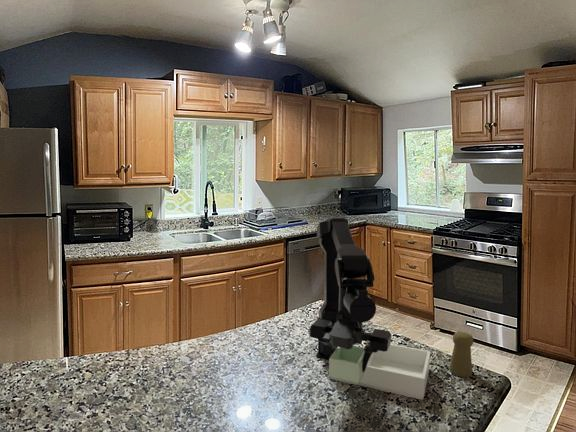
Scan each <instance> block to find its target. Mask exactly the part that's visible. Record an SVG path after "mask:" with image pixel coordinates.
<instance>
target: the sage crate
mask: <svg viewBox="0 0 576 432" xmlns="http://www.w3.org/2000/svg"><path fill="white" fill-rule="evenodd" d="M364 349H365V347H363V346H358V345H353V347H352V348H351V349H345V348H342V347H337V348H336V350H335V351H334V353H333V354H332V355H331V357H330V358H329V359H328V361H329V362H328V379H329V380H330V379H331V380H334V381H337V382H343V383H347V384H352V385H356V386H359V385H358V384H359V382H360V380H361V378H362V376H363V374H364V372H365V371H364V372H362V366H363V359H364V353H365V352H364ZM366 368H367V366H366ZM365 370H366V369H365Z"/></svg>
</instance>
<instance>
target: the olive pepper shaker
mask: <svg viewBox="0 0 576 432" xmlns="http://www.w3.org/2000/svg"><path fill="white" fill-rule="evenodd" d="M452 342H453V344H454V345H453V349H452V354H451V357H450V358H451V359H450V362H449V368H448V371H449V372H450V373H451V374H453V375H454V376H457V377H461V378H468V377H472V376H473V364H472V349H471V348H472V346H473V345H474V337H473V336H472V335H471V334H470V333H468V332H465V331H457V332H455V333H454V334H453V335H452Z"/></svg>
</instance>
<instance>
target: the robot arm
mask: <svg viewBox="0 0 576 432" xmlns="http://www.w3.org/2000/svg"><path fill="white" fill-rule="evenodd" d="M316 238H317V239H318V244H319V246H320V247H321V250H322V251H323V254H324V255H323V258H324V259H323V260H324V261H323V263H324V265H323V266H324V268H323V271H324V272H323V273H324V274H323V275H324V276H323V277H324V278H323V282H324V283H323V285H324V287H323V289H324V290H323V294H324V295H323V298H324V300H323V303H322V305H321V307H320V308H319V310H318V317H316V320H315V321H314V322H313V323H312V324H311V325H310V327H309V333H308V336H309V337H310V338H313V339H317V341H318V344H317V347H318V348H317V353H316V354H315V356H316V357H317V358H321V359H322V358H323V359H326V360H329V358H330V357H331V355H332V354H333V353H334V351H335V350H336V348H337V347H342V348H345V349H351V348H352V347H353V346H357V344H358V345H361V344H362V342H363V341H364V342H366V345H365V347H364V348H365V349H364V352H365V353H364V359H363V366H362V372H364V371H365V369H366V366H367V364H368V361H369V359H370V356H371V354H372V353H373V352H374V353H376V352H378V350H379V351H384V352H385V351H387V350H388V348H389V346H390V344H392V334H391V332H390V331H389V330H383V329H378V328H374V330H372V332H367V331H366V332H365V331H364V330H363V328H364V324H363V323H367V322H369V321H371V320H372V319H373V318H374V317H375V315H376V313H377V306H376V303H375V301H374V299H372V297H370V295H369V291H368V290H367V289H368V288H374V281H375V278H376V277H375V275H374V271H373V270H374V269H373V265H372V262H371V261H370V260H371V259H370V258H368V255H367V254H366V252H365V251H364V250H363V249H362V248H361V247H358V246H357V245H356V243H355V240H354V238H353V235H352V233H351V230H350V228H349V220H348V218H345V217H330V218H328V219H327V220H324V221H321V222H319V223H318V224H317V226H316Z"/></svg>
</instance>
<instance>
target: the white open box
mask: <svg viewBox="0 0 576 432" xmlns="http://www.w3.org/2000/svg"><path fill="white" fill-rule="evenodd" d="M430 360H431V350H426V349H421V348H414V347H409V346H404V345H399V344H394V343H391V344H390V346H389V348H388V350H387V351H385V352H384V351H379V350H378V352H376V353H374V352H373V353H372V354H371V356H370V359H369V361H368V364H367V368H366V370H365V372H364V374H363V376H362V378H361V380H360V382H359V384H358V385H357V386H361V387H365V388H370V389H373V390H377V391H381V392H382V391H383V392H387V393H390V392H391V394H396V395H399V396H404V397H408V398H412V399H416V400H421V401H423V400H424V399H425V398H424V397H425V392H426V387H427V382H428V379H429V373H430V364H431V363H430V362H431V361H430Z"/></svg>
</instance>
